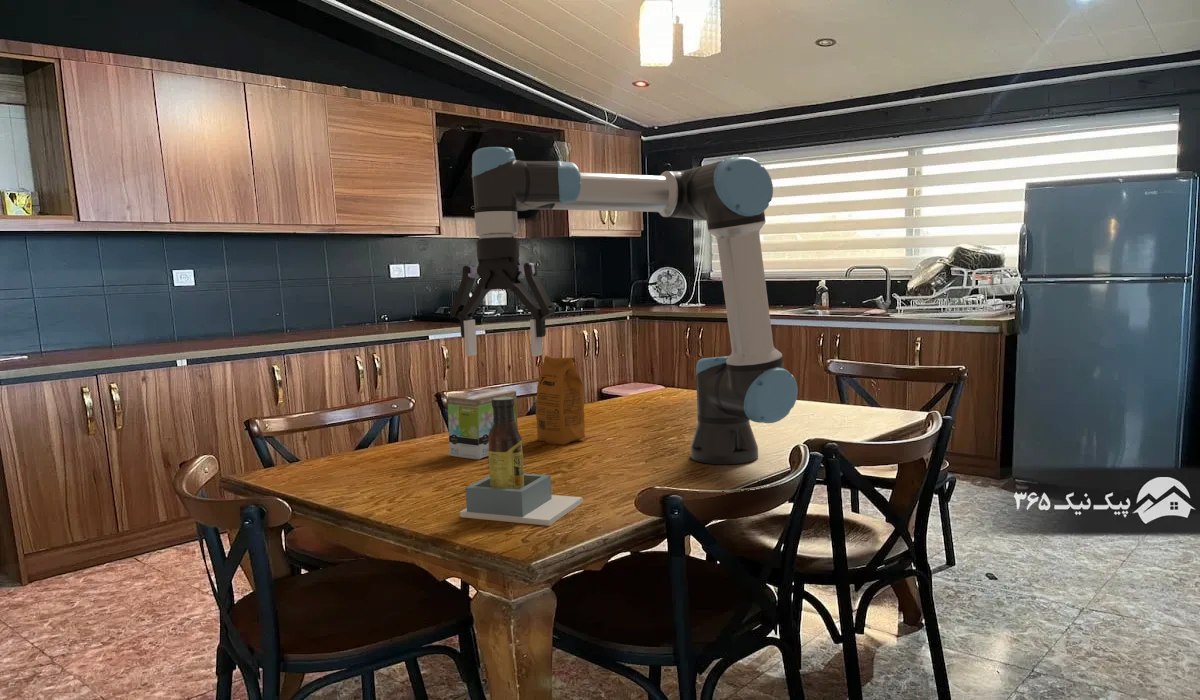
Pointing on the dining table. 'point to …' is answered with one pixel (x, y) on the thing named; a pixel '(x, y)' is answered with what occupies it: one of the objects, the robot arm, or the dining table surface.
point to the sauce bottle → (505, 447)
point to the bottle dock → (518, 502)
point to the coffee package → (559, 402)
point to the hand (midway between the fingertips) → (503, 355)
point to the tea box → (473, 421)
